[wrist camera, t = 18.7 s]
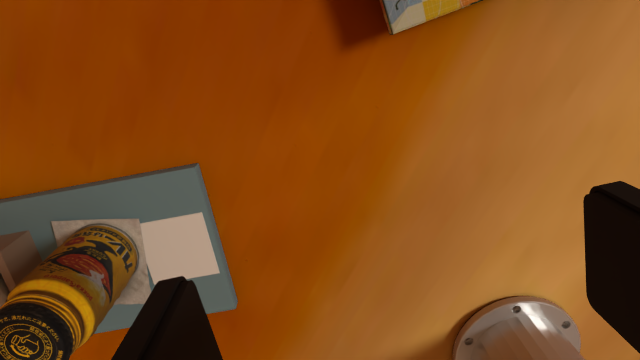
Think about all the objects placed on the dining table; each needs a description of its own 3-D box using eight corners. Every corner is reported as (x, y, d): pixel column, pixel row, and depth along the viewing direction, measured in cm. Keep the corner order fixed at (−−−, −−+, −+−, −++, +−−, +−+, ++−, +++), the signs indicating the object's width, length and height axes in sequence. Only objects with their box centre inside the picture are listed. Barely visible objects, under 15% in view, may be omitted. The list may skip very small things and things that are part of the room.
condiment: (139, 217, 37) (68, 299, 26) (153, 302, 40) (94, 409, 29) (52, 219, 37) (-58, 303, 26) (72, 305, 40) (-19, 414, 29)
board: (237, 301, 42) (229, 335, 37) (-6, 344, 43) (-44, 383, 38) (198, 162, 37) (183, 182, 33) (-74, 213, 38) (-127, 239, 33)
